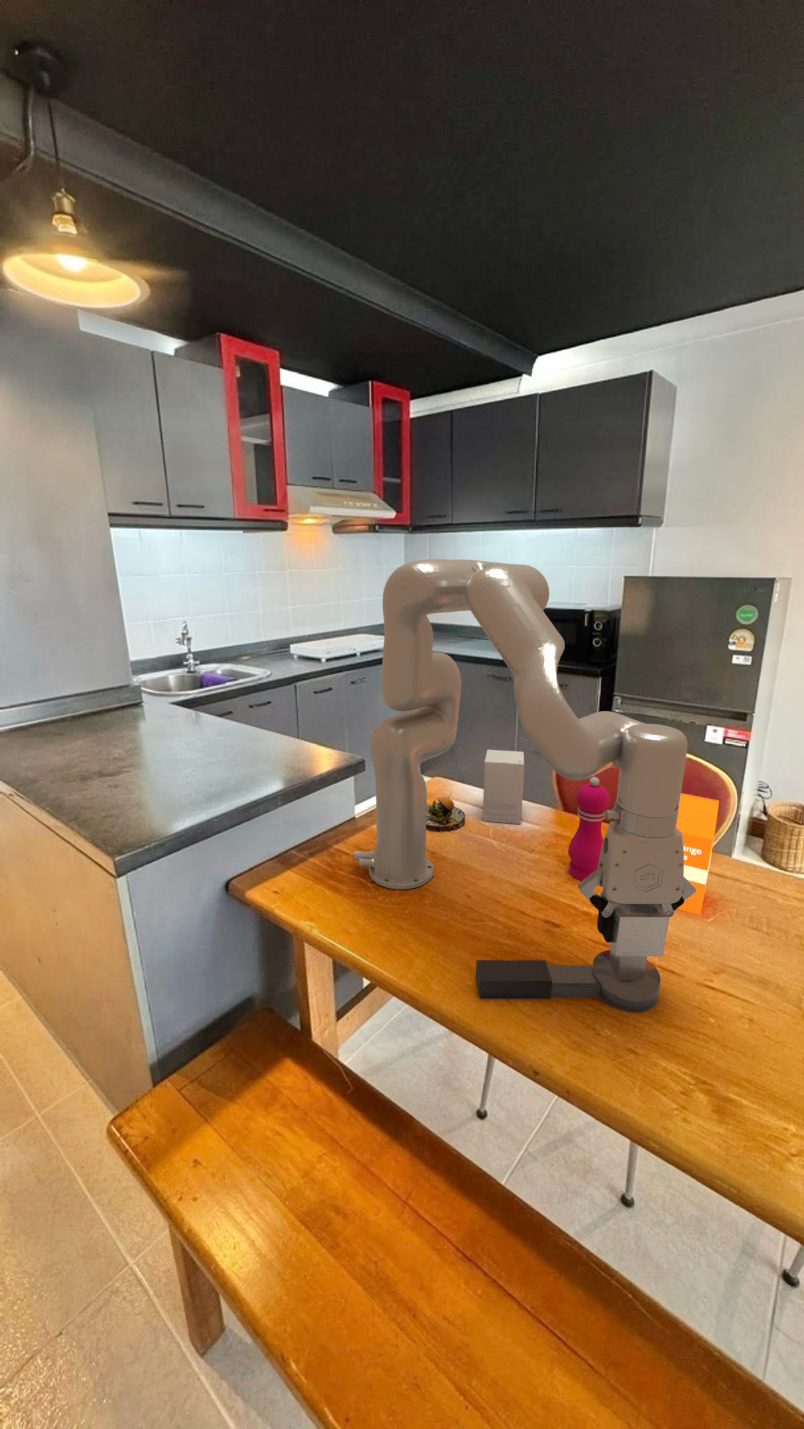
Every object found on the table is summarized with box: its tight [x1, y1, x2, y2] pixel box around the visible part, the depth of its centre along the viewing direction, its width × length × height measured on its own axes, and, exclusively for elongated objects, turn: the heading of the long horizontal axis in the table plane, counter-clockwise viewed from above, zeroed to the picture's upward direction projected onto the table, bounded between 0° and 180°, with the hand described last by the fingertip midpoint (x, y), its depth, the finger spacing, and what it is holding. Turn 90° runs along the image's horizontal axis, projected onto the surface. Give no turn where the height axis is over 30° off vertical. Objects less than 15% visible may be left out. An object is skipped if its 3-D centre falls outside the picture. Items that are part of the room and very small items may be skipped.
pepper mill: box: [567, 776, 611, 881], centre depth 110 cm, size 7×7×20 cm
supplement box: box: [482, 749, 525, 825], centre depth 136 cm, size 9×9×15 cm
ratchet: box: [475, 948, 661, 1013], centre depth 82 cm, size 26×9×8 cm, turn 90°
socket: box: [608, 904, 670, 957], centre depth 80 cm, size 6×6×6 cm
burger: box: [426, 793, 466, 833], centre depth 134 cm, size 12×12×8 cm
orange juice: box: [676, 792, 720, 916], centre depth 102 cm, size 8×9×20 cm
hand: (630, 935), depth 80 cm, fingers closed on socket, 6 cm apart
